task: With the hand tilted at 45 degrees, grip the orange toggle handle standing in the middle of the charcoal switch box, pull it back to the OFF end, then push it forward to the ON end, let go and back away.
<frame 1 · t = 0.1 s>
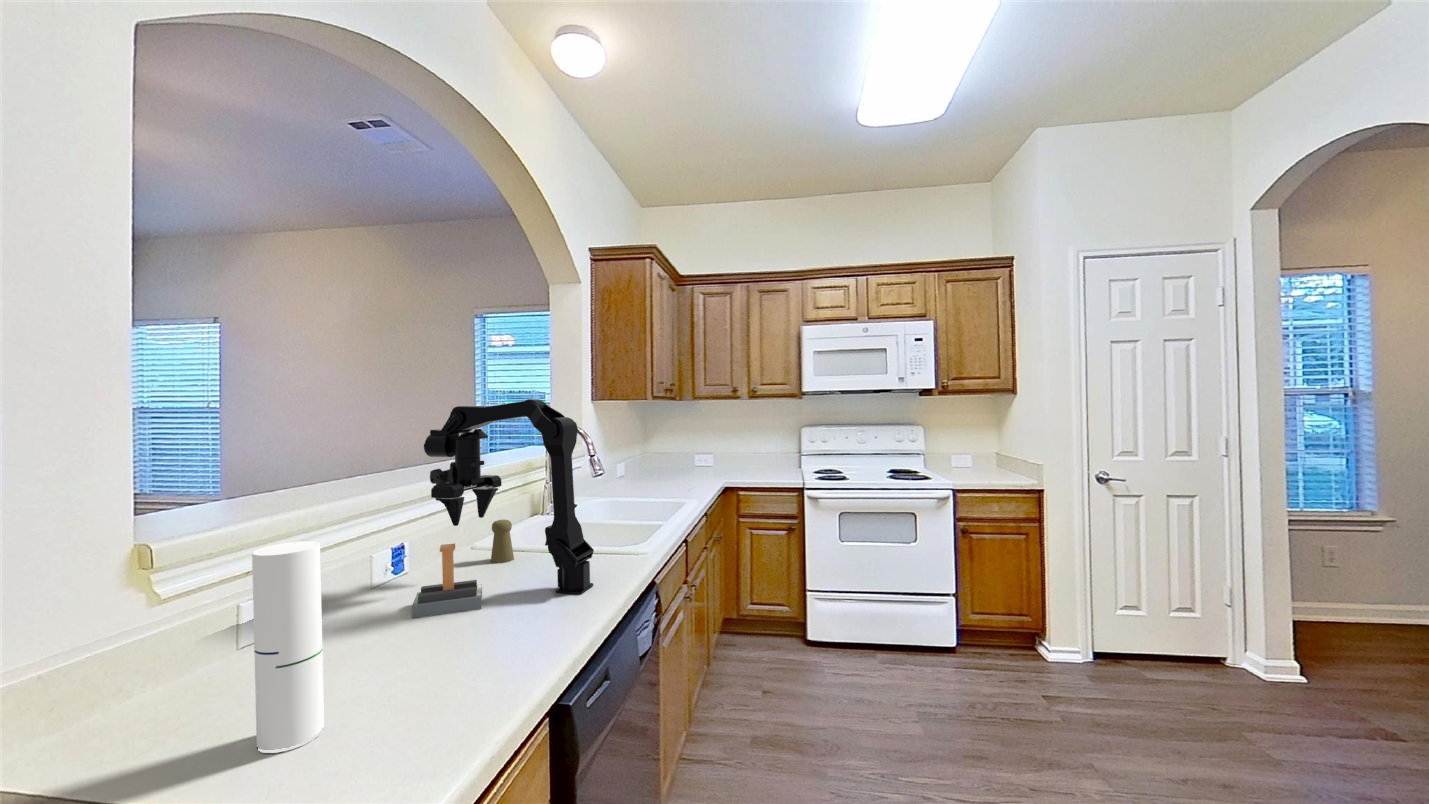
hand: (468, 521, 139), 15 cm above the worktop, tool pointing down, fingers open, 9 cm apart
cork: (502, 560, 158), on the worktop
cylindrical container: (291, 738, 75), on the worktop
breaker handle: (448, 569, 123), point 8 cm above the worktop, slide at 3.5 cm
grey slotted base: (448, 606, 123), on the worktop
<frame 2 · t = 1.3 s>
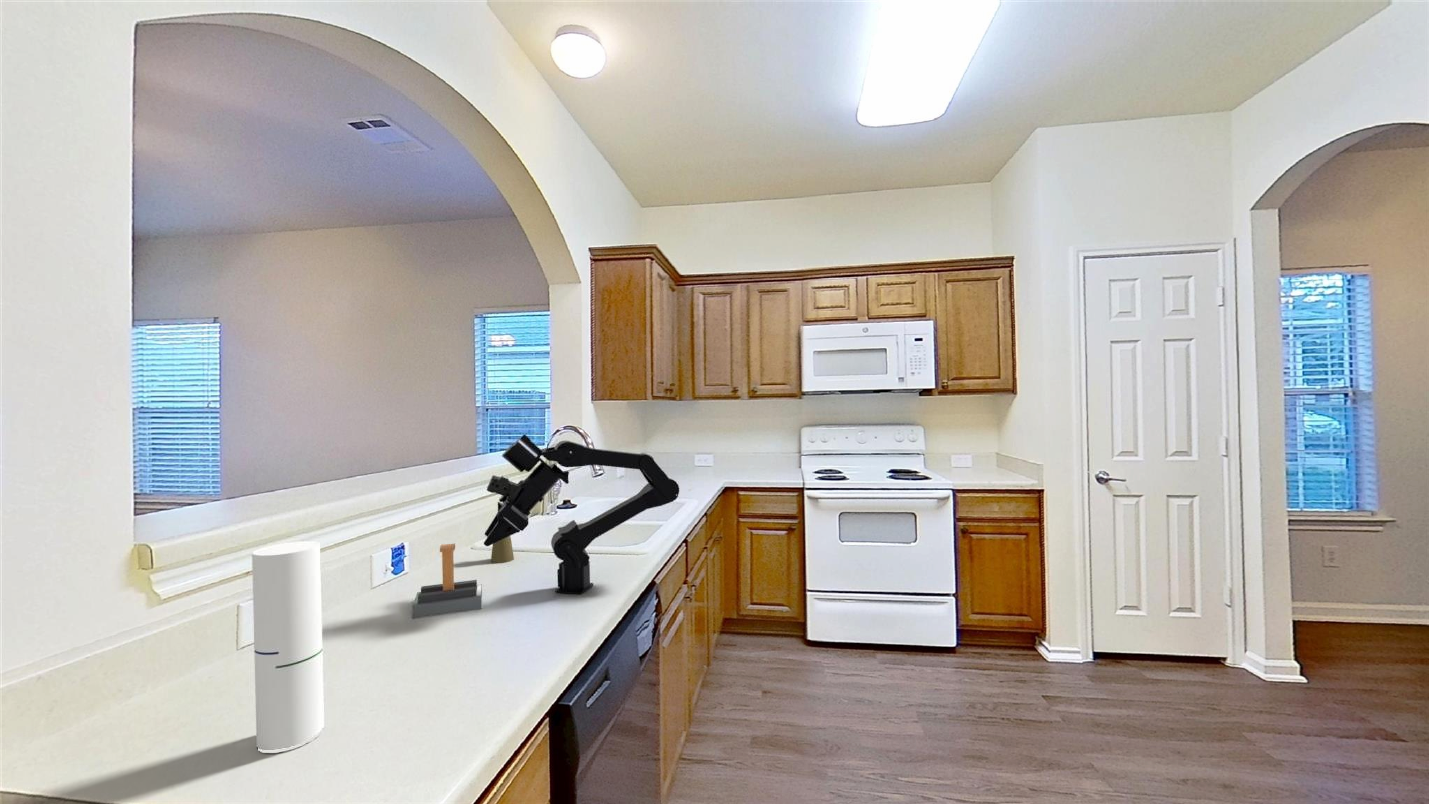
hand: (485, 540, 125), 13 cm above the worktop, tool tilted 45°, fingers open, 9 cm apart
nothing on the worktop moved.
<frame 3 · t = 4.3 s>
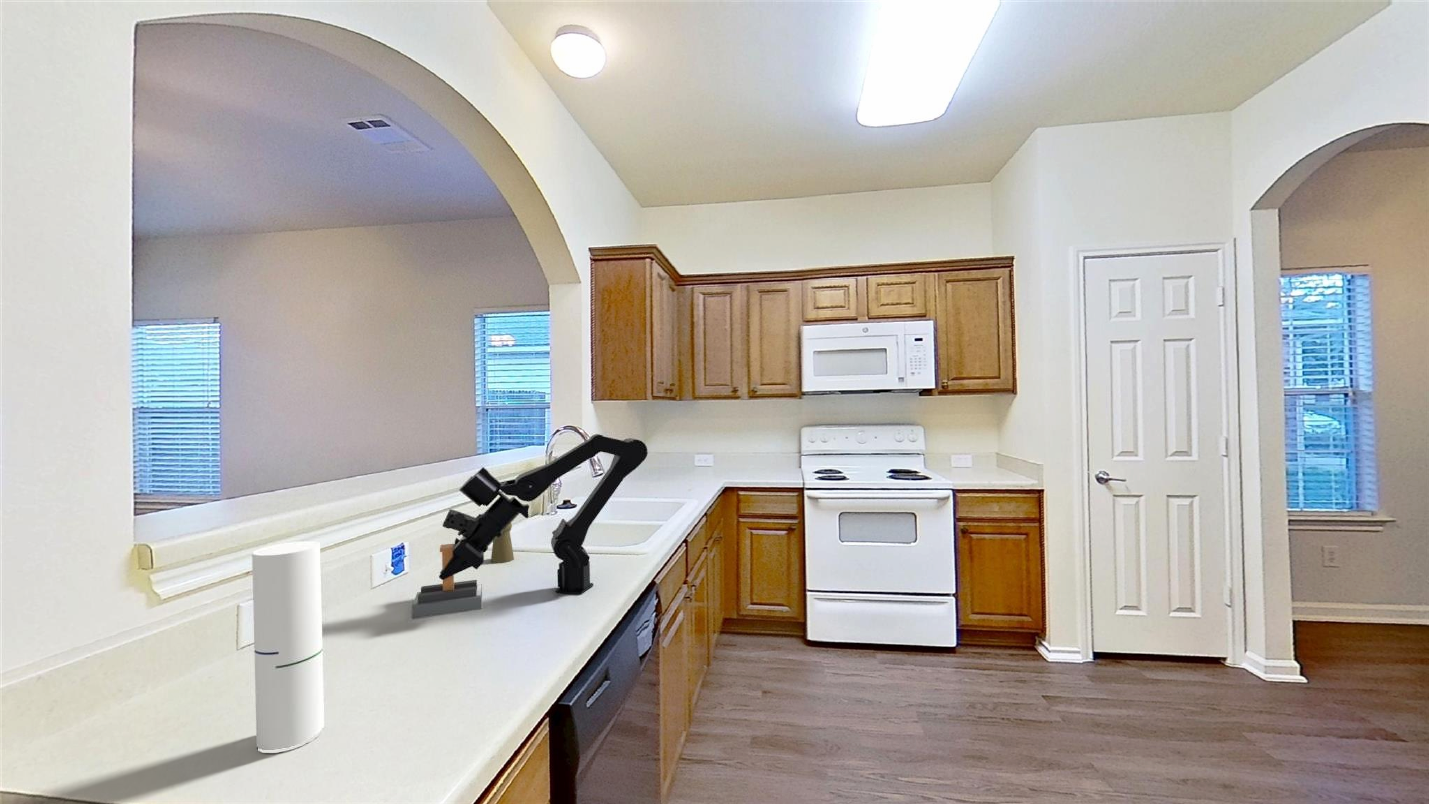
hand: (441, 576, 122), 7 cm above the worktop, tool tilted 45°, fingers closed on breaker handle, 2 cm apart
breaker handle: (448, 569, 123), point 8 cm above the worktop, slide at 3.5 cm, touching gripper
everything else where it was.
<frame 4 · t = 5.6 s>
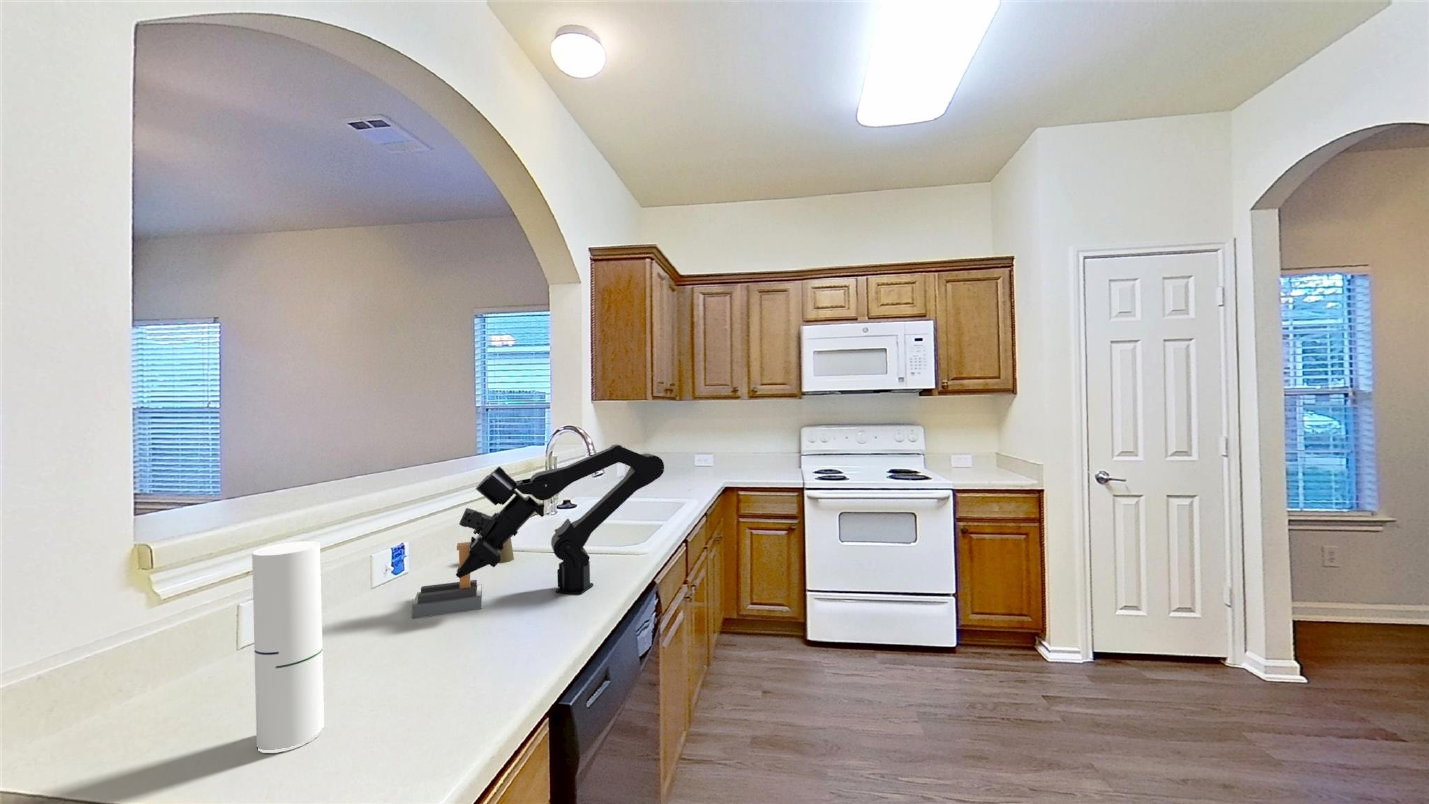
hand: (457, 574, 123), 7 cm above the worktop, tool tilted 45°, fingers closed on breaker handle, 2 cm apart
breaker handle: (464, 567, 124), point 8 cm above the worktop, slide at 0.2 cm, touching gripper
everything else where it was.
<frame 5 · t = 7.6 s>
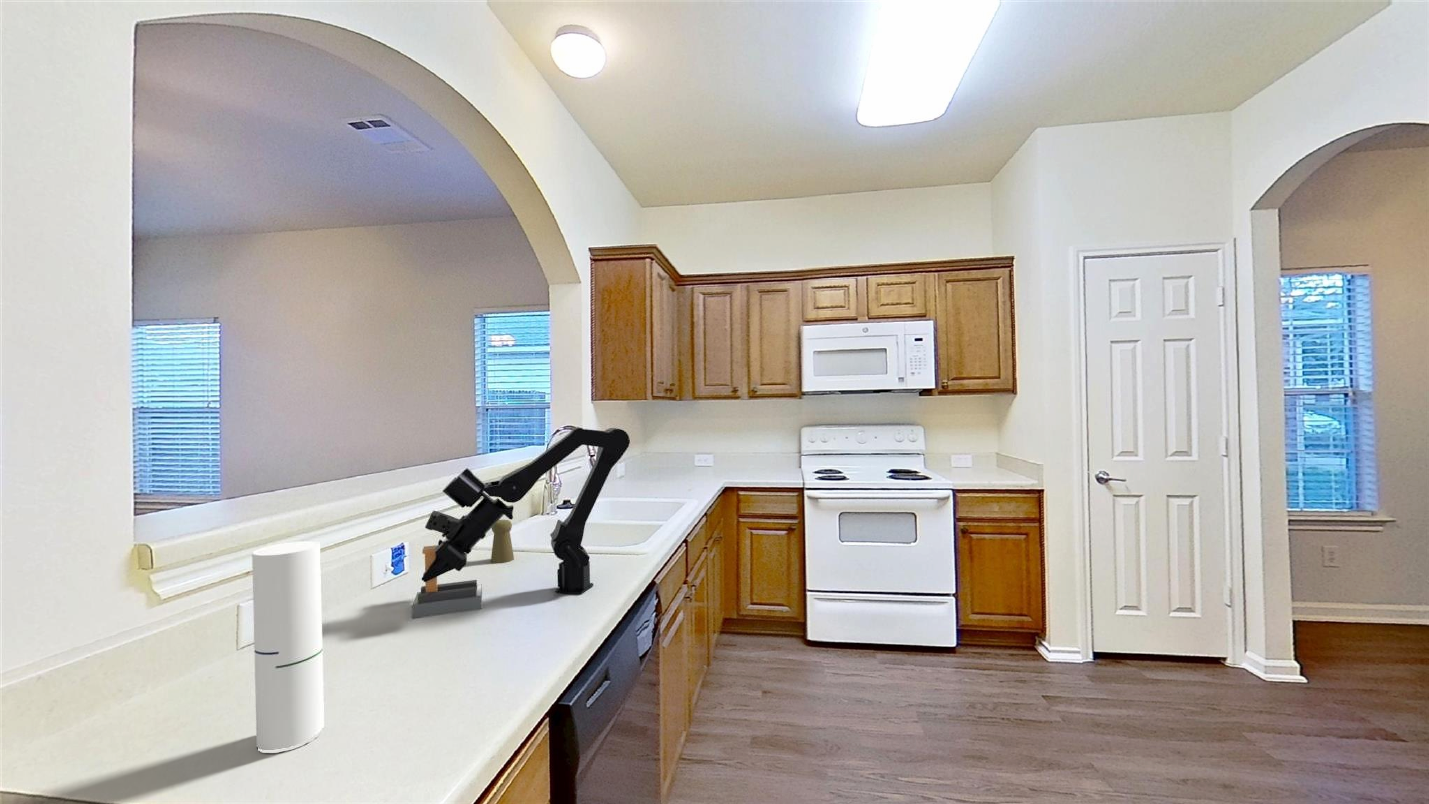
hand: (423, 578, 121), 7 cm above the worktop, tool tilted 45°, fingers closed on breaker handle, 2 cm apart
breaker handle: (431, 571, 121), point 8 cm above the worktop, slide at 6.8 cm, touching gripper
everything else where it was.
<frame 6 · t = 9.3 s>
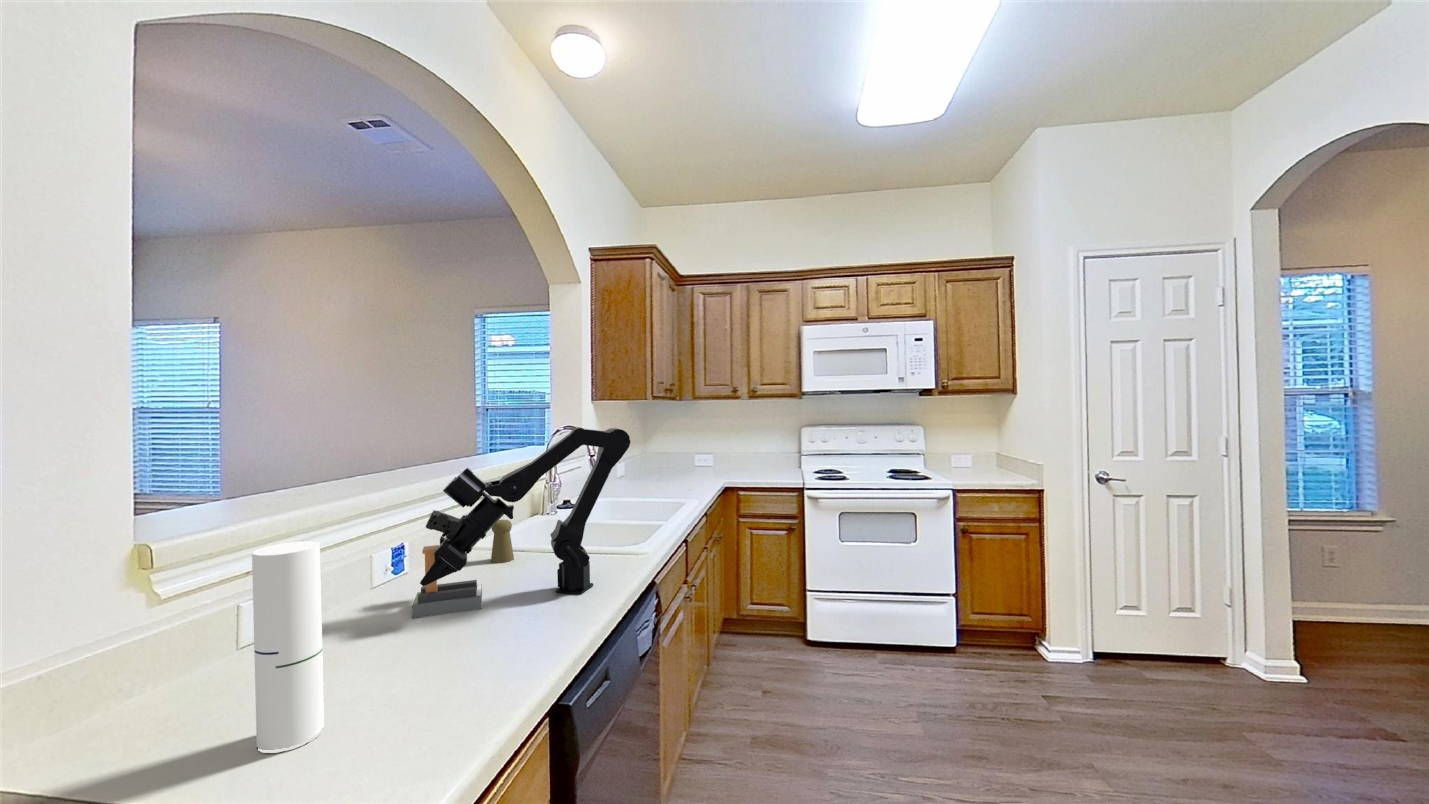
hand: (424, 578, 121), 7 cm above the worktop, tool tilted 45°, fingers open, 9 cm apart
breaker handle: (431, 571, 121), point 8 cm above the worktop, slide at 6.8 cm
everything else where it was.
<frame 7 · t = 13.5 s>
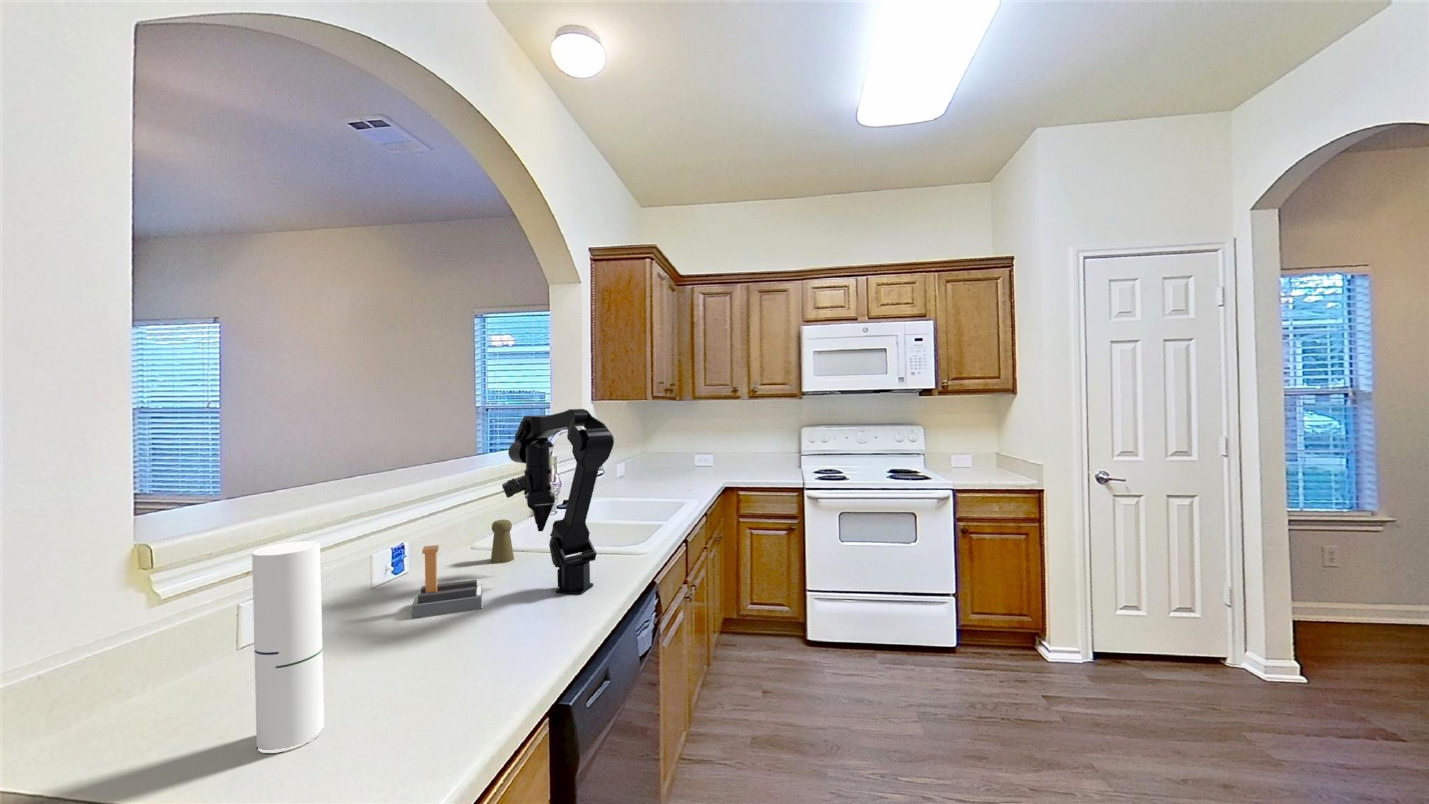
hand: (539, 527, 143), 12 cm above the worktop, tool pointing down, fingers open, 9 cm apart
nothing on the worktop moved.
at the end: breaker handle slide at 6.8 cm; the gripper is holding nothing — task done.
